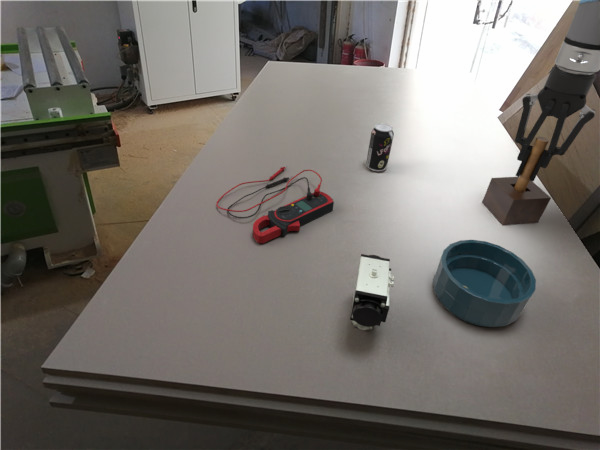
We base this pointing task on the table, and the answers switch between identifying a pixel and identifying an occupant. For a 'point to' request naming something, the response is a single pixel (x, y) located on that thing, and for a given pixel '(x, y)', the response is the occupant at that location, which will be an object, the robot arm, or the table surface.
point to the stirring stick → (531, 163)
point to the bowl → (483, 283)
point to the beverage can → (379, 147)
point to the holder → (515, 201)
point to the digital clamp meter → (287, 210)
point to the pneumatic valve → (371, 292)
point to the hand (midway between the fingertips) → (525, 175)
